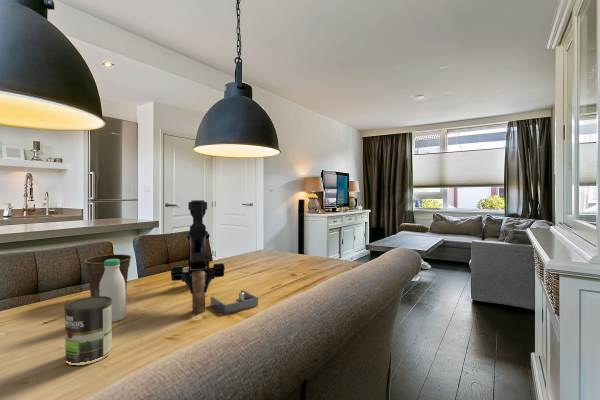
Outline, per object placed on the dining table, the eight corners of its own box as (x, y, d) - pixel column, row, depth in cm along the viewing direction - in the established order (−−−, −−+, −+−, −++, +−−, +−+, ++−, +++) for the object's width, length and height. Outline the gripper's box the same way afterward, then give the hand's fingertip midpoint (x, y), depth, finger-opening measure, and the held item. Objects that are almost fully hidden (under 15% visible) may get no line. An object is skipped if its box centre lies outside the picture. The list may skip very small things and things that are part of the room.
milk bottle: (131, 315, 108) (130, 258, 108) (111, 324, 101) (110, 263, 101) (114, 313, 111) (113, 256, 110) (93, 321, 104) (92, 261, 103)
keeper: (210, 305, 119) (210, 289, 118) (242, 297, 127) (242, 282, 127) (225, 314, 109) (225, 297, 109) (258, 305, 118) (258, 290, 118)
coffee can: (83, 370, 75) (82, 311, 75) (55, 361, 79) (54, 306, 79) (121, 350, 85) (121, 298, 85) (95, 343, 89) (94, 294, 88)
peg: (189, 312, 111) (189, 273, 111) (196, 308, 115) (196, 270, 115) (201, 313, 110) (201, 274, 110) (207, 309, 115) (207, 271, 114)
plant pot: (138, 297, 128) (137, 257, 127) (91, 308, 116) (90, 264, 115) (124, 289, 139) (123, 252, 138) (80, 298, 127) (79, 258, 127)
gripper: (170, 244, 113) (168, 283, 103) (224, 242, 119) (227, 278, 109) (172, 261, 121) (170, 299, 111) (222, 258, 127) (225, 294, 116)
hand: (198, 292), depth 111 cm, fingers closed on peg, 4 cm apart
